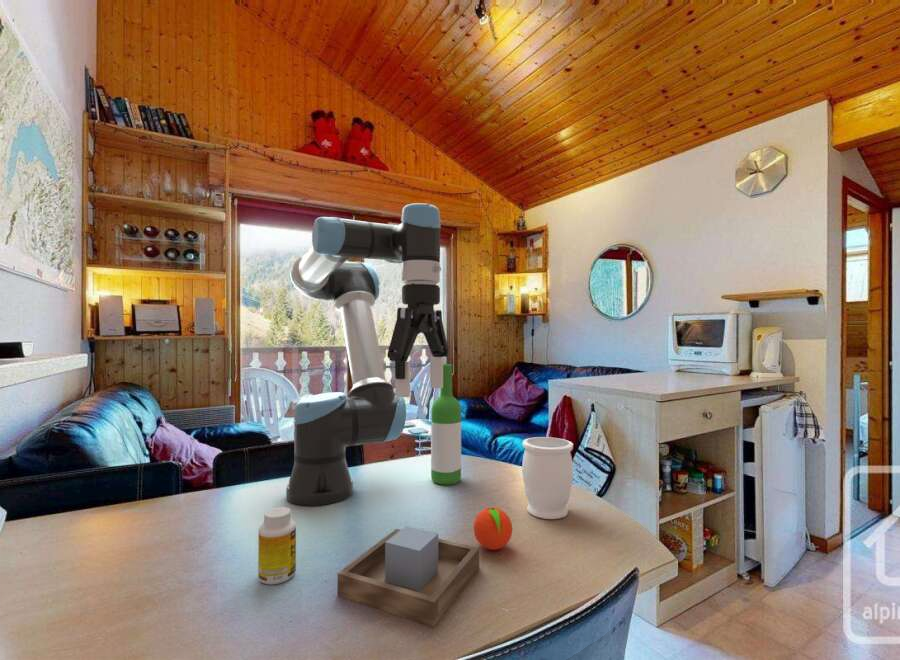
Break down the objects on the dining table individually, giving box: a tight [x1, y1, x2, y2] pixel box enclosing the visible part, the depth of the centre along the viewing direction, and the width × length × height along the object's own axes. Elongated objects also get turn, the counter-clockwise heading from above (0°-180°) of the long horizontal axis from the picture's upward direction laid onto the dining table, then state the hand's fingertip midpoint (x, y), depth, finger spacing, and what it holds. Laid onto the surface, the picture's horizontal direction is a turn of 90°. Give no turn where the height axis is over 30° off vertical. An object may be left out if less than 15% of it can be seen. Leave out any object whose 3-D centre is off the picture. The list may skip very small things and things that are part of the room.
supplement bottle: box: [257, 506, 297, 585], centre depth 70 cm, size 6×6×10 cm
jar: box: [521, 436, 574, 520], centre depth 95 cm, size 11×10×15 cm
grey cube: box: [385, 525, 439, 592], centre depth 69 cm, size 6×6×6 cm
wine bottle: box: [430, 363, 462, 486], centre depth 114 cm, size 8×8×30 cm
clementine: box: [473, 507, 513, 551], centre depth 79 cm, size 8×7×7 cm
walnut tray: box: [337, 528, 480, 628], centre depth 69 cm, size 16×16×3 cm
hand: (420, 392), depth 87 cm, fingers open, 13 cm apart
